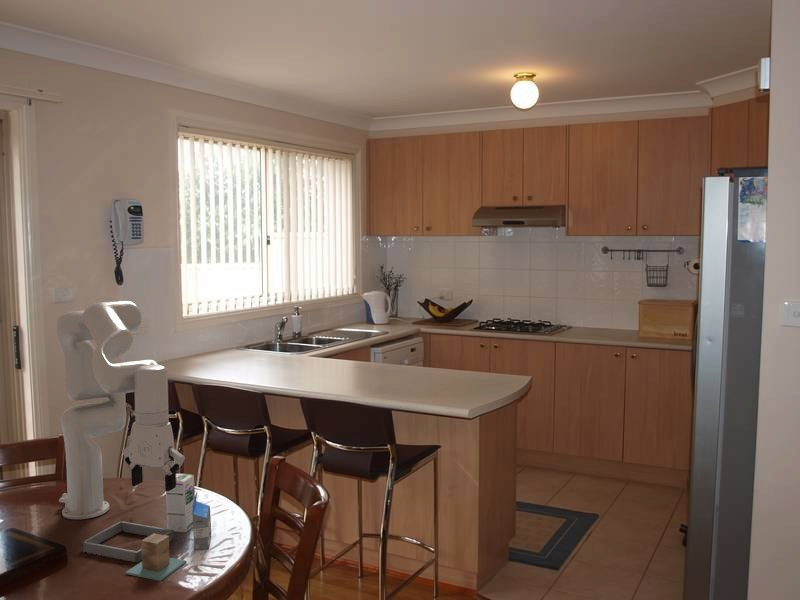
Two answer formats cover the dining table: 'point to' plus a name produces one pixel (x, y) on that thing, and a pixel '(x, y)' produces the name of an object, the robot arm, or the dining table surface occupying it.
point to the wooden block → (155, 552)
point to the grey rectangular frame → (135, 556)
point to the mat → (156, 575)
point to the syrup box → (180, 504)
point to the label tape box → (201, 525)
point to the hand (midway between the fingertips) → (153, 486)
